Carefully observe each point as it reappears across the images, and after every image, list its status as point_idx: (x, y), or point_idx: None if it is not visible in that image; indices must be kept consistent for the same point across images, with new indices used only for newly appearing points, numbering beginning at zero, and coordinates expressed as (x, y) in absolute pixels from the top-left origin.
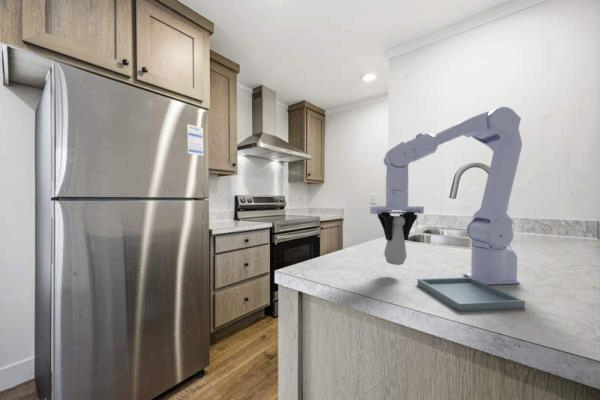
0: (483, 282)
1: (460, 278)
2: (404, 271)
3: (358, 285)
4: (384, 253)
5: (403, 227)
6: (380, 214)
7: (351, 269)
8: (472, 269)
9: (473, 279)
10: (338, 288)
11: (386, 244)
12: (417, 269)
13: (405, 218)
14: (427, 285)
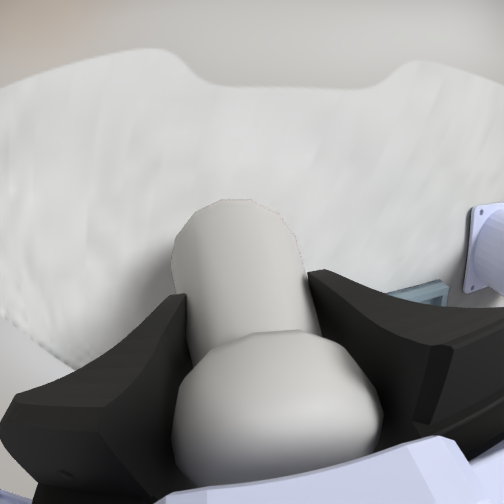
0: (464, 284)
1: (420, 301)
2: (297, 159)
3: (84, 328)
4: (170, 264)
5: (347, 346)
6: (58, 499)
7: (60, 153)
8: (490, 246)
9: (443, 305)
10: (40, 346)
11: (175, 289)
12: (366, 131)
13: (383, 444)
14: None
